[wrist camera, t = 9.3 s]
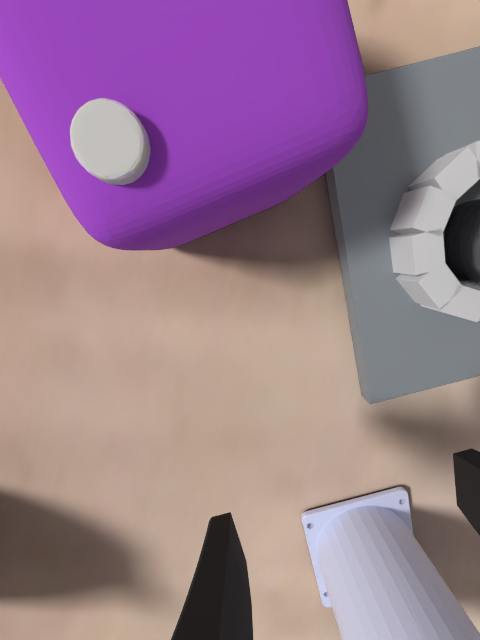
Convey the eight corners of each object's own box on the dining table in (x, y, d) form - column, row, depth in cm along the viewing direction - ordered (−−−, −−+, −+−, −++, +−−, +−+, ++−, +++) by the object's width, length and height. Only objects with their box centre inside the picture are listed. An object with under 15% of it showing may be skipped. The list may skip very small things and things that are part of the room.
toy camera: (189, -103, 14) (112, -977, 4) (330, 171, 17) (482, 64, 7) (6, 41, 14) (-433, -386, 5) (174, 277, 18) (117, 312, 8)
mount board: (559, 343, 20) (628, 362, 17) (361, 395, 20) (390, 425, 17) (565, 34, 16) (659, -25, 12) (313, 99, 16) (338, 57, 12)
